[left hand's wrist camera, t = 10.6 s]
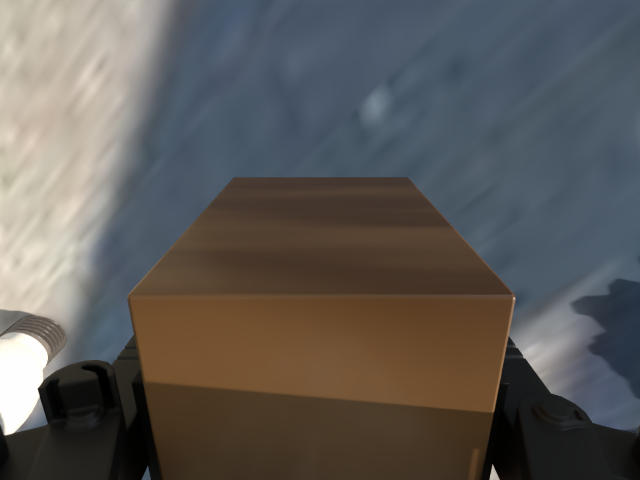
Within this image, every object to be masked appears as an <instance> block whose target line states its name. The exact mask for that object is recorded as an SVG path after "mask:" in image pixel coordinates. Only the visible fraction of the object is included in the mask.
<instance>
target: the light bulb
mask: <svg viewBox="0 0 640 480" xmlns="http://www.w3.org/2000/svg"><path fill="white" fill-rule="evenodd" d="M65 344H66V334H65V332H64V330H63V329H62V327H61V326H60V325H58V324H57V323H56V322H54V321H52V320H50V319H48V318H45V317H41V316H29V317H24V318H22V319H20V320H18V321H17V322H16V323H15V324H13V325H12V326H11V327H10V328H8V329H7V330H6V331H5V332H3V333H2V334H1V335H0V425H1V428H2V431H3V433H4V435H8V434H13V433H14V432H15V431H16V430H17V429H18V428H19V427H20V426H21V425H22V424H23V423H24V422H25V420H26V419H27V418H28V416H29V415H30V413H31V412H32V410H33V408H34V407H35V405H36V403H37V400H38V398H39V393H38V387H39V386H40V385H41V383H42V382H43V368H44V367H45V366H46V365H47V364H48V363H49V362H50V361H51V360H52V359H53V358H54V357H55V356H56V355H57V354H58V353H59V352H60V351H61V349H63V347H64V346H65Z"/></svg>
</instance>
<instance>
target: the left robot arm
mask: <svg viewBox="0 0 640 480" xmlns="http://www.w3.org/2000/svg"><path fill="white" fill-rule="evenodd" d="M38 393H39V396H40V399H41V402H42V406H43V409H44V412H45V415H46V419H47V422H48V424H47V425H45V426H42V427H38V428H34V429H30V430H26V431H21V432H17V433H13V434H8V435H4V433H3V431H2V428H1V425H0V480H142V477H143V475H144V473H145V471H146V468H147V466H148V467H149V472H150V477H151V480H161V474H160V469H159V464H158V458H157V453H156V448H155V443H154V437H153V432H152V427H151V421H150V416H149V411H148V406H147V400H146V395H145V390H144V384H143V379H142V374H141V369H140V363H139V358H138V353H137V347H136V342H135V337H134V335H133V337H132V338H131V339H130V341H129V342H128V343H127V345H126V346H125V349H123V350H122V352H121V353H120V354H119V356H118V357H117V360H115V361H114V363H113V364H112V365H110V364H109V363H108V362H104V361H100V360H89V361H82V362H78V363H74V364H70V365H68V366H66V367H64V368H62V369H59V370H57V371H55V372H54V373H53V374H51V375H50V376H49V377H47V378H46V379H45V380H44V381H43V382H42V383H41V385H40V386H39V387H38ZM492 464H493V466H494V468H495V470H496V472H497V475H498V477H499V479H500V480H640V426H639V429H638V432H637V434H635V433H631V432H627V431H622V430H618V429H614V428H609V427H605V426H601V425H598V424H594V423H592V421H591V420H590V418H589V417H588V415H587V414H586V413H585V412H584V411H583V410H582V409H581V408H579V407H578V406H577V405H576V404H575V403H573V402H571V401H569V400H567V399H565V398H563V397H561V396H558V395H554V394H551V393H550V392H549V390H548V389H547V387H546V386H545V385H544V383H543V382H542V381H541V379H540V378H539V377H538V375H537V374H536V373H535V371H534V370H533V368H532V367H531V366H530V364H529V363H528V362H527V360H526V359H525V358H523V355H522V353H521V352H520V351H519V349H518V348H516V345H515V344H514V343H513V341H512V340H511V339H510V337H509V336H508V341H507V346H506V351H505V357H504V362H503V367H502V372H501V378H500V383H499V388H498V393H497V399H496V404H495V409H494V414H493V420H492V425H491V430H490V435H489V441H488V446H487V451H486V456H485V462H484V467H483V472H482V477H481V480H489V479H490V474H491V469H492Z"/></svg>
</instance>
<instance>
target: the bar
mask: <svg viewBox="0 0 640 480" xmlns="http://www.w3.org/2000/svg"><path fill="white" fill-rule="evenodd" d="M127 300H128V305H129V310H130V316H131V321H132V326H133V332H134V337H135V342H136V347H137V353H138V358H139V363H140V369H141V374H142V379H143V384H144V390H145V395H146V400H147V406H148V411H149V416H150V421H151V427H152V432H153V437H154V443H155V448H156V453H157V458H158V464H159V469H160V474H161V480H481V477H482V472H483V467H484V462H485V456H486V451H487V446H488V441H489V435H490V430H491V425H492V420H493V414H494V409H495V404H496V399H497V393H498V388H499V383H500V378H501V372H502V367H503V362H504V357H505V351H506V346H507V341H508V336H509V330H510V325H511V320H512V315H513V309H514V304H515V295H514V293H513V292H512V291H511V290H510V289H509V288H508V287H507V286H506V285H505V283H504V282H503V281H502V280H501V279H500V278H499V277H498V276H497V275H496V274H495V273H494V271H493V270H492V269H491V268H490V267H489V266H488V265H487V264H486V263H485V262H484V260H483V259H482V258H481V257H480V256H479V255H478V254H477V253H476V252H475V251H474V249H473V248H472V247H471V246H470V245H469V244H468V243H467V242H466V241H465V240H464V239H463V237H462V236H461V235H460V234H459V233H458V232H457V231H456V230H455V229H454V228H453V226H452V225H451V224H450V223H449V222H448V221H447V220H446V219H445V218H444V217H443V215H442V214H441V213H440V212H439V211H438V210H437V209H436V208H435V207H434V206H433V205H432V203H431V202H430V201H429V200H428V199H427V198H426V197H425V196H424V195H423V194H422V192H421V191H420V190H419V189H418V188H417V187H416V186H415V185H414V184H413V183H412V181H411V180H410V179H409V178H407V177H346V178H233V179H232V180H231V181H230V183H229V184H228V185H227V186H226V187H225V188H224V189H223V190H222V191H221V192H220V194H219V195H218V196H217V197H216V198H215V199H214V200H213V201H212V202H211V204H210V205H209V206H208V207H207V208H206V209H205V210H204V211H203V212H202V213H201V215H200V216H199V217H198V218H197V219H196V220H195V221H194V222H193V223H192V225H191V226H190V227H189V228H188V229H187V230H186V231H185V232H184V233H183V234H182V236H181V237H180V238H179V239H178V240H177V241H176V242H175V243H174V244H173V246H172V247H171V248H170V249H169V250H168V251H167V252H166V253H165V254H164V255H163V257H162V258H161V259H160V260H159V261H158V262H157V263H156V264H155V265H154V267H153V268H152V269H151V270H150V271H149V272H148V273H147V274H146V275H145V277H144V278H143V279H142V280H141V281H140V282H139V283H138V284H137V285H136V286H135V288H134V289H133V290H132V291H131V292H130V293H129V294H128V298H127Z"/></svg>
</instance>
